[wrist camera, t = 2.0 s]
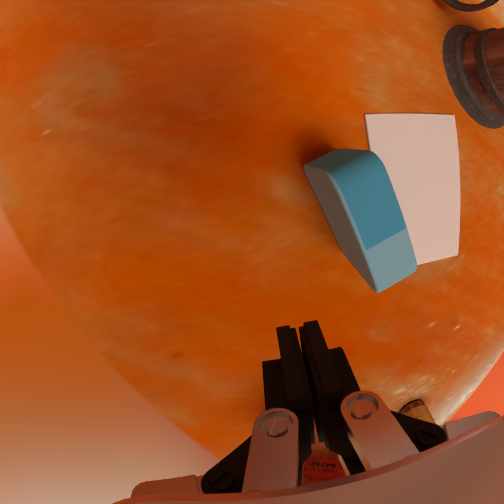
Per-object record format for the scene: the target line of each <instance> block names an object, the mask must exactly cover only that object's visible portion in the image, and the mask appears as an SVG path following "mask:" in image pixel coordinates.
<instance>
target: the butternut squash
mask: <svg viewBox="0 0 504 504" xmlns="http://www.w3.org/2000/svg"><path fill="white" fill-rule="evenodd" d="M314 432H315V444H311V449H312V454H311V455H310V456H309V458H308V459H307V460H306V461H305V462H304V463H303V465H304V470H303V486H304V485H310V484H315V483H320V482H325V481H330V480H335V479H339V478H343V477H347V475H346V473H345V471H344V469H343V467H342V465H341V462H340V460H339V458H338V454H336V453H334V452H332V451H330V450H329V448H328V449H326V446H325V442H321V443H319V440H318V435H317V431H316V426H315V422H314Z"/></svg>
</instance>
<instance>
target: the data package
mask: <svg viewBox="0 0 504 504" xmlns="http://www.w3.org/2000/svg"><path fill="white" fill-rule="evenodd" d="M303 169H304V172H305V175H306V177H307V179H308V181H309V183H310V185H311V187H312V189H313V191H314V193H315V195H316V197H317V199H318V201H319V203H320V205H321V208H322V210H323V212H324V214H325V216H326V218H327V220H328V222H329V225H330V227H331V229H332V231H333V233H334V236H335V238H336V240H337V242H338V244H339V247H340V248H341V250H342V252H343V254H344V255H345V257H346V258H347V259H348V260H349V261H350V262H351V264H352V265H353V266H354V267H355V268H356V270H357V271H358V272H359V273H360V274H361V276H362V277H363V278H364V279H365V281H366V282H367V283H368V284H369V285H370V287H371V288H372V289H373V290H374V291H375V292H376V293H380V292H381V291H383V290H385V289H387V288H388V287H390V286H392V285H394V284H395V283H397V282H399V281H400V280H402V279H404V278H406V277H407V276H409V275H411V274H412V273H414V272H415V271H416V270H417V261H416V257H415V254H414V250H413V246H412V243H411V240H410V236H409V233H408V230H407V227H406V223H405V220H404V217H403V214H402V211H401V208H400V205H399V202H398V200H397V197H396V194H395V191H394V189H393V186H392V183H391V181H390V178H389V175H388V173H387V170H386V168H385V166H384V164H383V162H382V161H381V159H380V158H379V157H378V156H377V155H376V154H375V153H374V152H372V151H368V150H354V149H335V150H333V151H331V152H329V153H327V154H325V155H323V156H321V157H319V158H317V159H315V160H313V161H311V162H309V163H307V164H305V165H304V166H303Z"/></svg>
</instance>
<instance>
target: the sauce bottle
mask: <svg viewBox="0 0 504 504" xmlns="http://www.w3.org/2000/svg"><path fill="white" fill-rule="evenodd" d="M400 414H403V415H407V416H410V417H413V418H417V419H420V420H424V421H427V422H431V423H434V424H436V423H435V421H434V419H433V417H432V415H431V414H430V412H429V410H428V408H427V406H425V404H424V403H423V401H420V400H418V401H414V402H411V403H410V404H408V405H407V406H405V407H404V408H403V409H402V410H401V412H400Z"/></svg>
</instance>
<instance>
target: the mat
mask: <svg viewBox="0 0 504 504" xmlns="http://www.w3.org/2000/svg"><path fill="white" fill-rule="evenodd" d="M364 118H365V124H366V131H367V138H368V145H369V151H372V152H374V153H375V154H376V155H377V156H378V157H379V158H380V159H381V161H382V162H383V164H384V166H385V168H386V170H387V173H388V175H389V178H390V181H391V183H392V186H393V189H394V191H395V194H396V197H397V200H398V202H399V205H400V208H401V211H402V214H403V217H404V220H405V223H406V227H407V230H408V233H409V236H410V240H411V243H412V246H413V250H414V254H415V257H416V261H417V265H419V264H424V263H428V262H432V261H436V260H440V259H444V258H448V257H452V256H456V255H458V246H459V230H460V169H459V153H458V142H457V132H456V124H455V116H454V115H442V114H365V115H364Z"/></svg>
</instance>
